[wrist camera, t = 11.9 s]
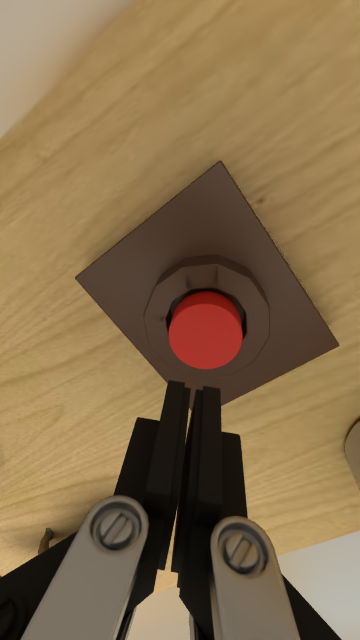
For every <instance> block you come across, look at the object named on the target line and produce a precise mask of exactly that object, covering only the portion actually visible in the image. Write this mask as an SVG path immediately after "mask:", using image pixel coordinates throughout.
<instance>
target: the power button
mask: <svg viewBox="0 0 360 640" xmlns="http://www.w3.org/2000/svg"><path fill="white" fill-rule="evenodd" d="M168 338H169V343H170V346H171V349H172V350H173V352H174V353H175V355H176V356H177V357H178V358H179V359H180V360H181V361H182V362H184V363H186V364H187V365H190V366H192V367H195V368H199V369H213V368H218V367H221V366H223V365H225V364H227V363H228V362H230V361H231V360H232V359H233V358H234V357H235V356H236V355H237V353H238V352H239V350H240V348H241V345H242V340H243V334H242V326H241V319H240V314H239V312H238V309H237V308H236V306H235V305H234V303H233V302H232V301H231V300H229V299H228V298H227V297H225V296H223V295H221V294H219V293H216V292H210V291H202V292H197V293H193V294H191V295H189V296H187V297H186V298H184V299H183V300H182V301H181V302H180V303H179V304H178V306H177V307H176V309H175V311H174V314H173V317H172V320H171V324H170V327H169V332H168Z"/></svg>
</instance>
